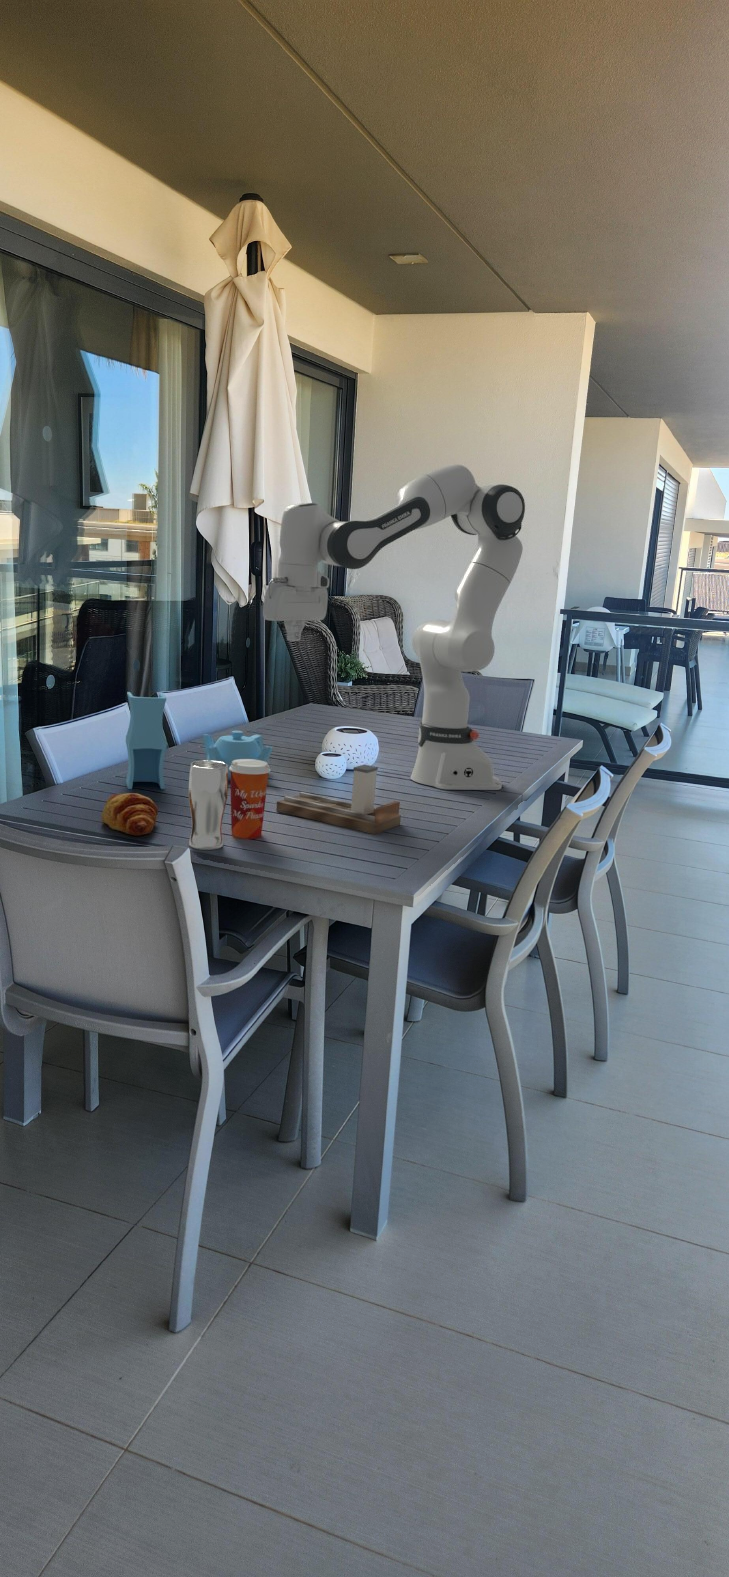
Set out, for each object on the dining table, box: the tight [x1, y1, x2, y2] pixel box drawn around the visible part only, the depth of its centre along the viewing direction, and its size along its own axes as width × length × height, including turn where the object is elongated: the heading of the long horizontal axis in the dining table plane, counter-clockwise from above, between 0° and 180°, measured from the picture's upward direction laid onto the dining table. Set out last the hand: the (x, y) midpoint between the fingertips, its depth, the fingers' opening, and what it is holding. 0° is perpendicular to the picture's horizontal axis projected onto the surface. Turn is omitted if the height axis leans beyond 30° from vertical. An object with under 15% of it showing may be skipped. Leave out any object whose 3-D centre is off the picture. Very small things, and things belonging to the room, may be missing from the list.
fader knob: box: [351, 764, 379, 815], centre depth 201 cm, size 3×4×9 cm
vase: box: [125, 691, 167, 790], centre depth 218 cm, size 8×8×20 cm
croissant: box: [101, 792, 159, 837], centre depth 188 cm, size 21×10×8 cm, turn 27°
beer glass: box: [188, 759, 229, 851], centre depth 178 cm, size 7×7×15 cm
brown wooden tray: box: [276, 791, 402, 835], centre depth 205 cm, size 24×10×5 cm, turn 59°
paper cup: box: [229, 759, 272, 840], centre depth 186 cm, size 8×8×14 cm
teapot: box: [202, 730, 274, 782], centre depth 234 cm, size 15×15×11 cm
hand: (293, 640), depth 224 cm, fingers closed
